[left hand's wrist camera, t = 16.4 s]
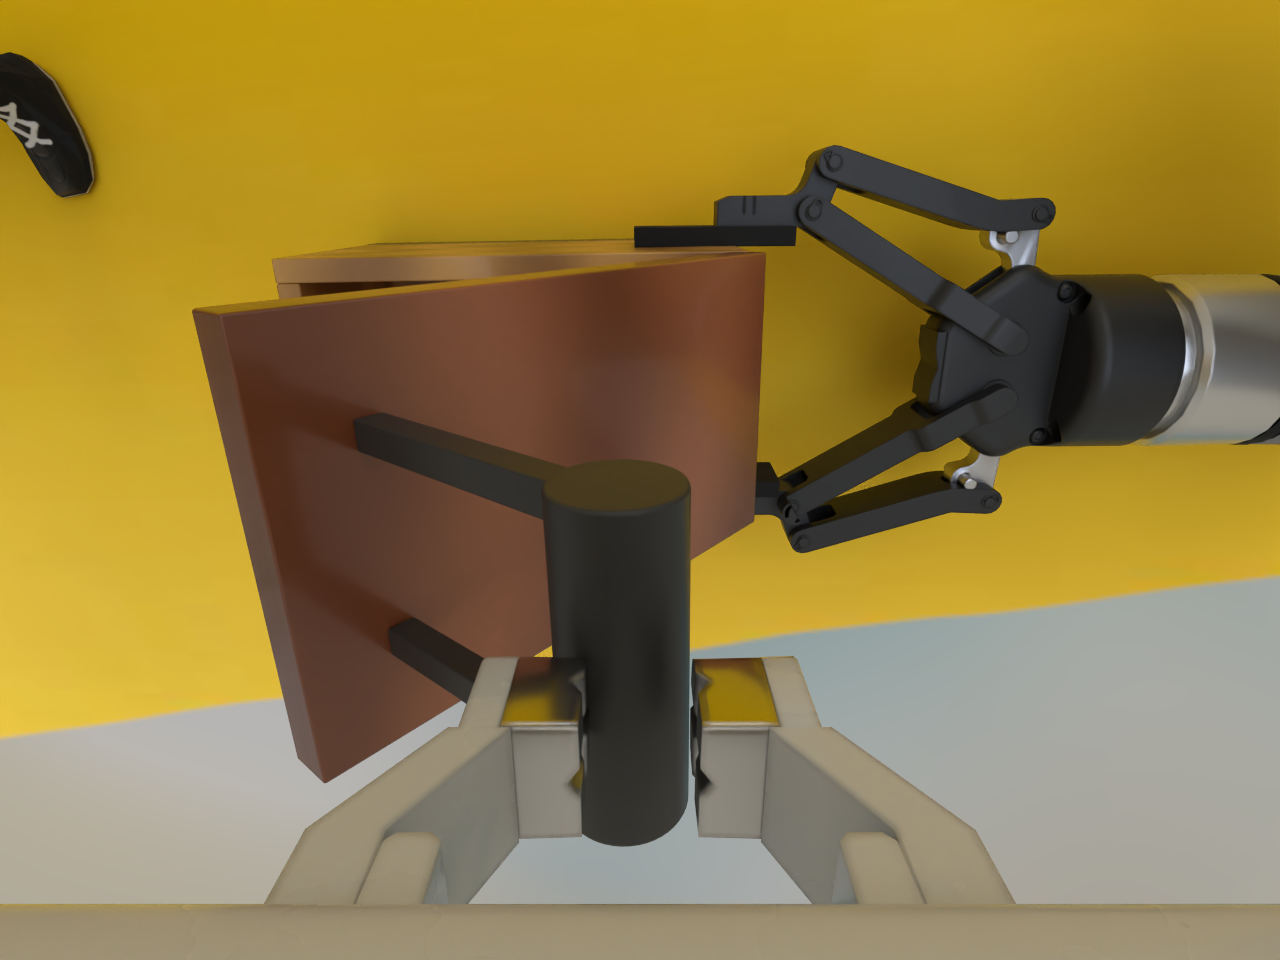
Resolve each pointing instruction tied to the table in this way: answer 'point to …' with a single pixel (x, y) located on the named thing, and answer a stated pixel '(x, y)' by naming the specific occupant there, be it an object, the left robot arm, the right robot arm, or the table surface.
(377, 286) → the chest
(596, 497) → the lid
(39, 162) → the figurine
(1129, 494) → the table surface
